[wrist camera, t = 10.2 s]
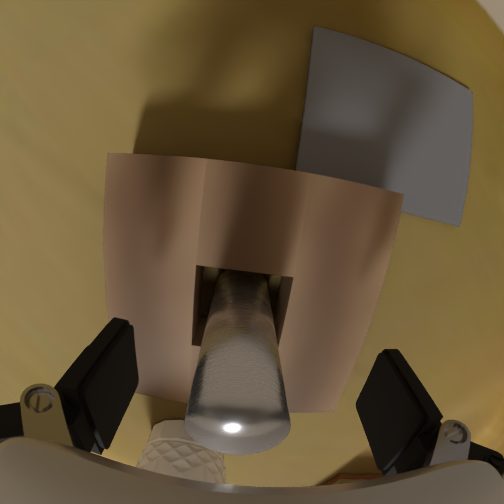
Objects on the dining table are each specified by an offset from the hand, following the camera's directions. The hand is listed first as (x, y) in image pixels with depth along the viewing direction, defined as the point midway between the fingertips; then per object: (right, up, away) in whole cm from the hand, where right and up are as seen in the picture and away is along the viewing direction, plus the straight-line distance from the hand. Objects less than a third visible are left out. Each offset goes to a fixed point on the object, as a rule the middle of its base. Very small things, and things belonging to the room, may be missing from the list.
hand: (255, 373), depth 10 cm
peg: (-1, +2, +7) cm, 7 cm away
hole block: (-1, +2, +7) cm, 7 cm away
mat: (+9, +12, +4) cm, 15 cm away
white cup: (-6, -13, +11) cm, 18 cm away
